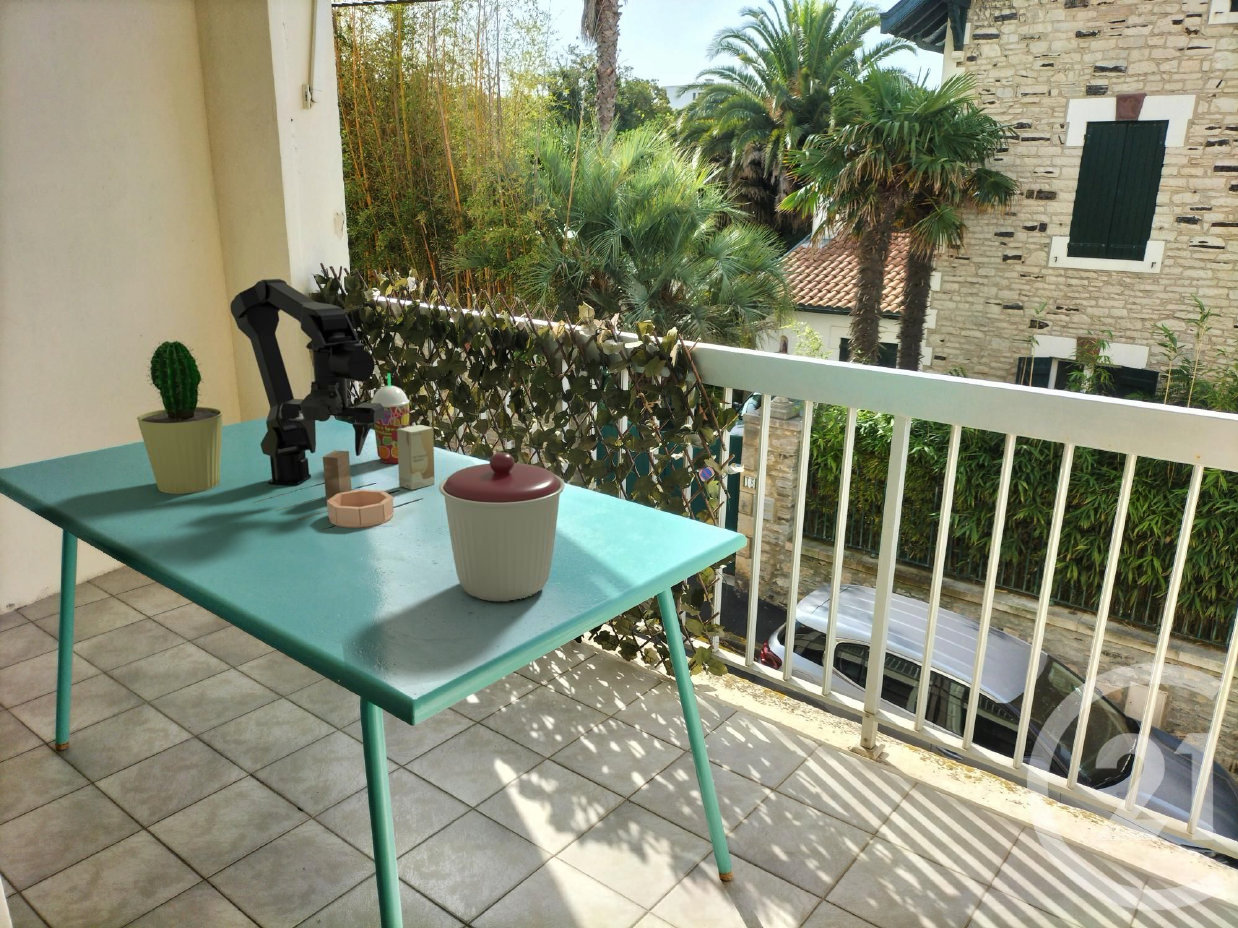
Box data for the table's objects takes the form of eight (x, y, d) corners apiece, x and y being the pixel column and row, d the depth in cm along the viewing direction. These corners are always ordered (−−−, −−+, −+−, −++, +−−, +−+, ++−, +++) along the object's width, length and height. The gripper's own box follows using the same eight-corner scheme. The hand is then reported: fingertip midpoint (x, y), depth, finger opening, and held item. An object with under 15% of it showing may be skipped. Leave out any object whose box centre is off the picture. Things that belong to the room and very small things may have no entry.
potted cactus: (245, 476, 182) (230, 334, 174) (204, 498, 167) (186, 344, 159) (176, 472, 183) (158, 331, 175) (129, 494, 168) (107, 341, 160)
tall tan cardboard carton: (326, 501, 167) (322, 456, 165) (337, 493, 172) (334, 450, 169) (340, 502, 167) (337, 457, 164) (351, 494, 171) (348, 451, 169)
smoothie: (367, 463, 193) (361, 375, 188) (387, 454, 201) (382, 369, 195) (400, 467, 191) (395, 378, 185) (419, 457, 199) (415, 372, 193)
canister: (434, 572, 135) (428, 442, 129) (545, 559, 141) (545, 434, 135) (455, 622, 118) (449, 475, 113) (579, 604, 125) (581, 464, 119)
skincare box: (412, 490, 174) (409, 432, 171) (398, 486, 177) (395, 429, 174) (436, 483, 179) (434, 426, 176) (422, 479, 182) (420, 423, 179)
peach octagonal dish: (318, 525, 154) (317, 506, 153) (345, 505, 165) (344, 488, 164) (378, 529, 152) (377, 510, 152) (401, 509, 163) (400, 491, 162)
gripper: (261, 379, 156) (268, 462, 160) (359, 384, 154) (364, 468, 158) (291, 369, 167) (297, 447, 171) (383, 374, 164) (387, 452, 169)
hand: (335, 454), depth 167 cm, fingers open, 9 cm apart
